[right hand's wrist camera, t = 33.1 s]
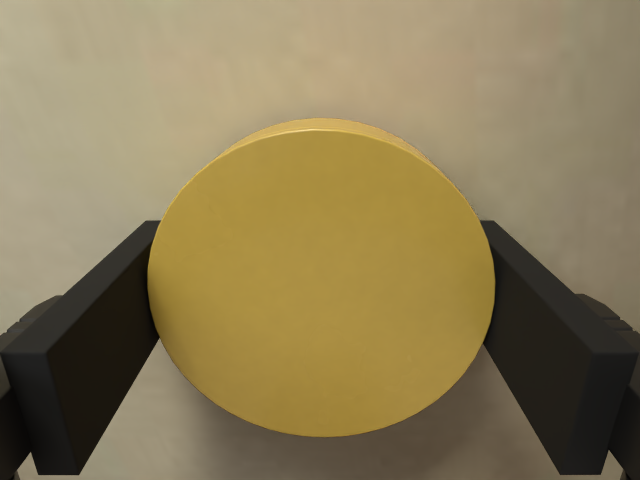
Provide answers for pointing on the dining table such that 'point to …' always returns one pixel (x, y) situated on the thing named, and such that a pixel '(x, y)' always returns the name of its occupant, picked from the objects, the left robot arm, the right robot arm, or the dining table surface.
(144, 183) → the dining table surface
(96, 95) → the dining table surface
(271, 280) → the lid
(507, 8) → the dining table surface
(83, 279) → the right robot arm
